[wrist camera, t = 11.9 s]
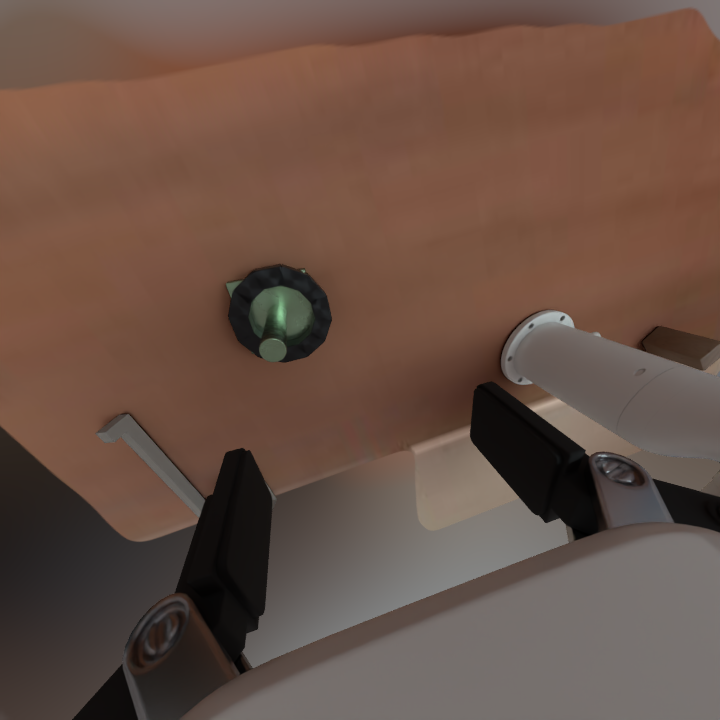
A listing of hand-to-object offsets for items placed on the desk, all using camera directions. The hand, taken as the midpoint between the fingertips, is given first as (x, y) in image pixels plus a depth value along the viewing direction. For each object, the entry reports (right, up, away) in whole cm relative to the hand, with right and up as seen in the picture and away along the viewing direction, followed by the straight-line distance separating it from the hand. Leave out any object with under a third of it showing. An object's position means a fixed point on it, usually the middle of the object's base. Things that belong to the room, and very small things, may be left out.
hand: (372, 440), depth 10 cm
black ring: (-9, +8, +18) cm, 22 cm away
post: (-10, +9, +18) cm, 23 cm away
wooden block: (+54, +7, +38) cm, 66 cm away
